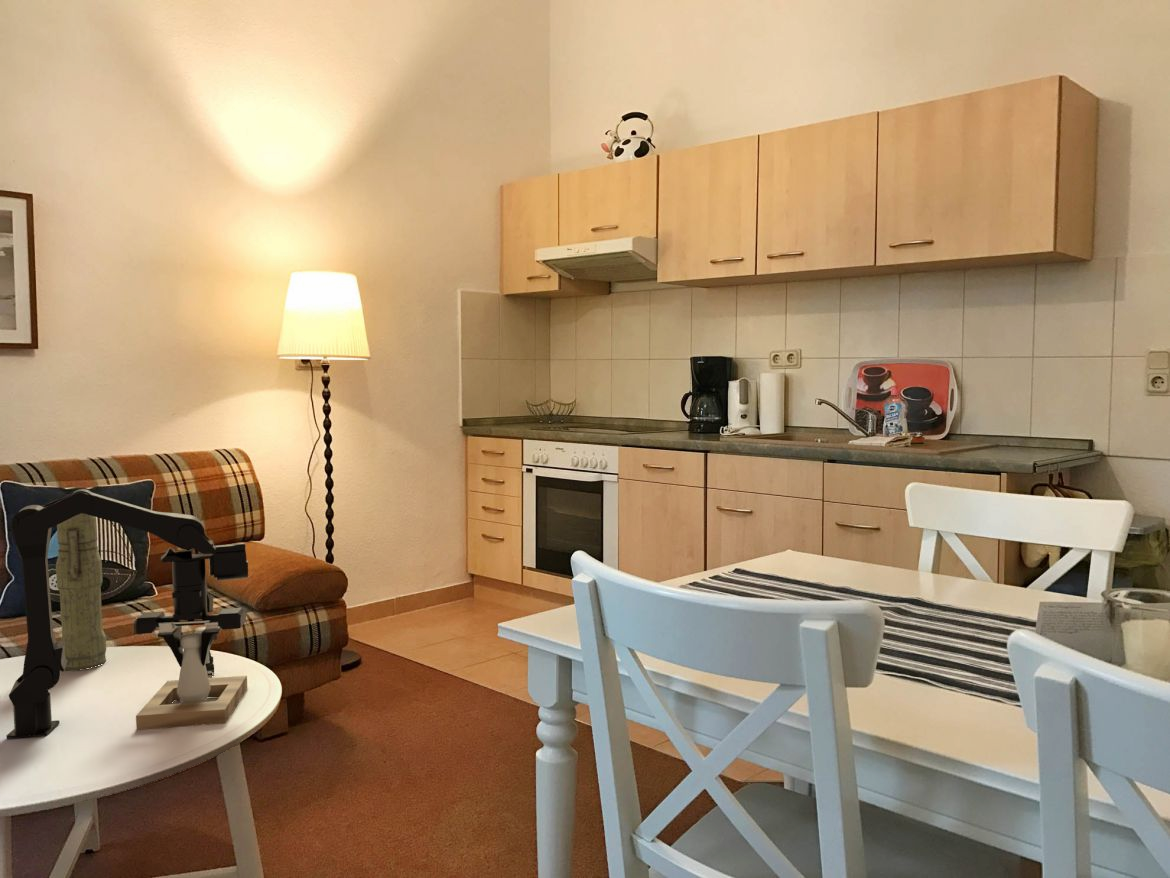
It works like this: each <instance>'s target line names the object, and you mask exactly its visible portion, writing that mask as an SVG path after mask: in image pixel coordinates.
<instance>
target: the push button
mask: <svg viewBox="0 0 1170 878" xmlns="http://www.w3.org/2000/svg"><path fill="white" fill-rule="evenodd" d="M205 628H206V627H205V625H202V626H199V627H196V628H195V629H194V632H192V633H200V634H202V632H203V631H204V630H205ZM217 639H218V634H216V635H215V637H214V639H213V641H212V643H214V642H215V641H216V640H217ZM205 666H206V670H207V674H208V678H213V677H212V676H214V674H215V664H214V656H212V652H211V650H210V651H209V654H208V657H207V661H206V664H205ZM213 673H214V674H213Z"/></svg>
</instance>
